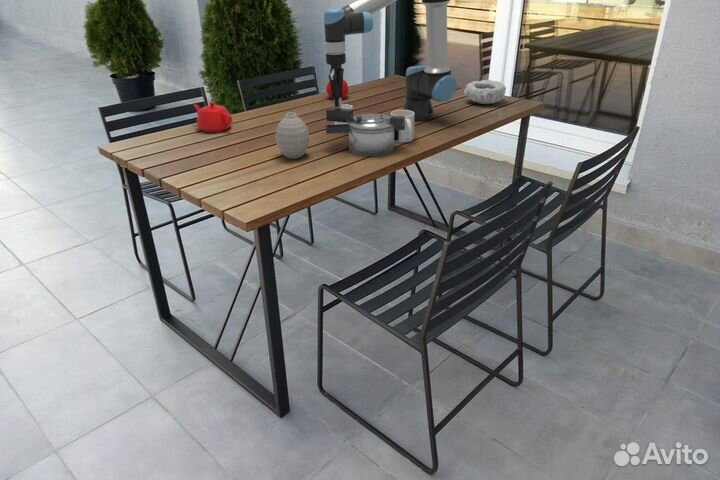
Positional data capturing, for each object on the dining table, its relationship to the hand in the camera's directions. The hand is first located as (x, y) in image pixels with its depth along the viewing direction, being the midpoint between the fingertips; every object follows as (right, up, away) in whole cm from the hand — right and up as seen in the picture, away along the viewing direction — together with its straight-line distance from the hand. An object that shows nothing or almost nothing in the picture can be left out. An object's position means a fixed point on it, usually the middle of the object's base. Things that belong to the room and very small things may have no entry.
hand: (338, 114), depth 219 cm
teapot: (-57, 0, +28) cm, 64 cm away
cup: (+1, -1, +25) cm, 25 cm away
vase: (-17, -18, -6) cm, 25 cm away
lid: (+11, -4, -4) cm, 12 cm away
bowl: (+72, +19, +58) cm, 94 cm away
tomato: (-3, +25, +72) cm, 76 cm away
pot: (+11, -14, 0) cm, 18 cm away
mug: (+26, -9, +9) cm, 29 cm away
